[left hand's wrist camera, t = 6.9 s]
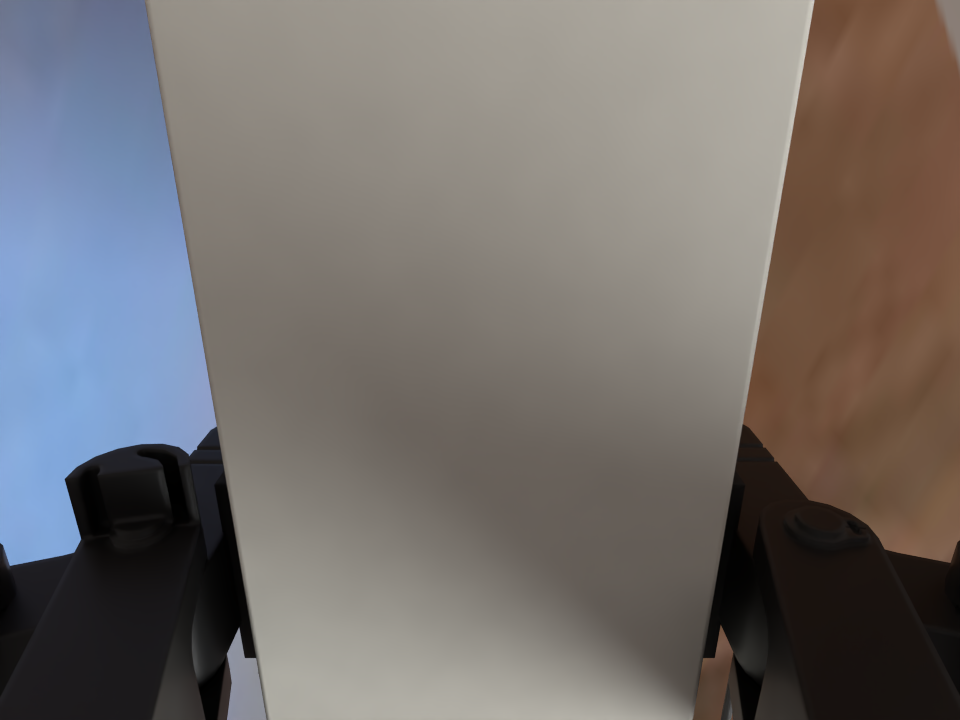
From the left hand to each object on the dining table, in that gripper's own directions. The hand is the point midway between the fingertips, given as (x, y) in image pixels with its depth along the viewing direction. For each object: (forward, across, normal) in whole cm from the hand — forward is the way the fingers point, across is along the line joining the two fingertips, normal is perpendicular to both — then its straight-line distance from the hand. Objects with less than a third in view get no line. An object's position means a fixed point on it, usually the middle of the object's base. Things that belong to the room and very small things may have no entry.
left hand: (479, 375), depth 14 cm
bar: (+1, 0, -8) cm, 8 cm away
